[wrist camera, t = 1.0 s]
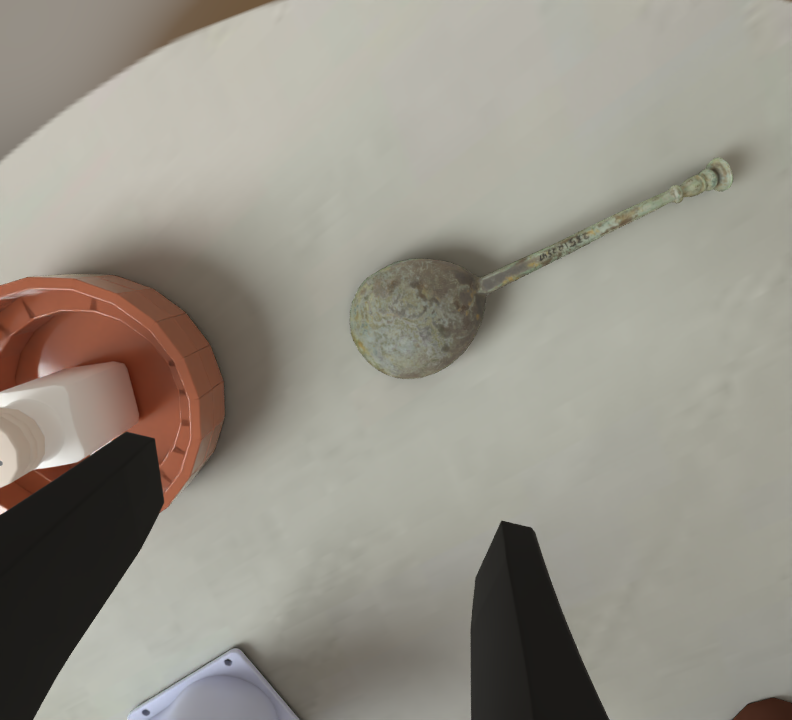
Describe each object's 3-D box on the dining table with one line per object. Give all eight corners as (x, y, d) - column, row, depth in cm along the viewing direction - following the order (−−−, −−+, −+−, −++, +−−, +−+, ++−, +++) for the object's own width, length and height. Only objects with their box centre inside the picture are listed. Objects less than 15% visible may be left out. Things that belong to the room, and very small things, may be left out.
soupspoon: (331, 289, 31) (379, 386, 32) (322, 298, 28) (376, 405, 29) (698, 117, 28) (732, 232, 30) (736, 104, 25) (772, 234, 26)
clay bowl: (95, 543, 33) (52, 584, 29) (-62, 362, 31) (-132, 379, 27) (273, 423, 32) (255, 449, 28) (121, 224, 29) (77, 219, 25)
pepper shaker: (145, 422, 31) (39, 493, 22) (81, 431, 32) (-51, 506, 22) (129, 357, 31) (12, 403, 21) (63, 367, 31) (-82, 417, 22)
